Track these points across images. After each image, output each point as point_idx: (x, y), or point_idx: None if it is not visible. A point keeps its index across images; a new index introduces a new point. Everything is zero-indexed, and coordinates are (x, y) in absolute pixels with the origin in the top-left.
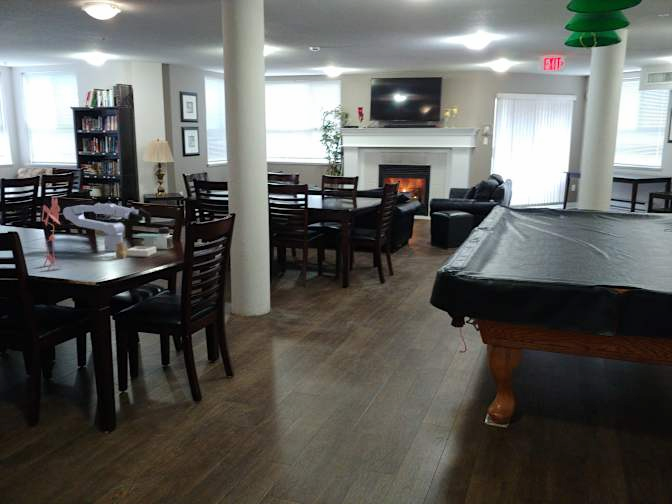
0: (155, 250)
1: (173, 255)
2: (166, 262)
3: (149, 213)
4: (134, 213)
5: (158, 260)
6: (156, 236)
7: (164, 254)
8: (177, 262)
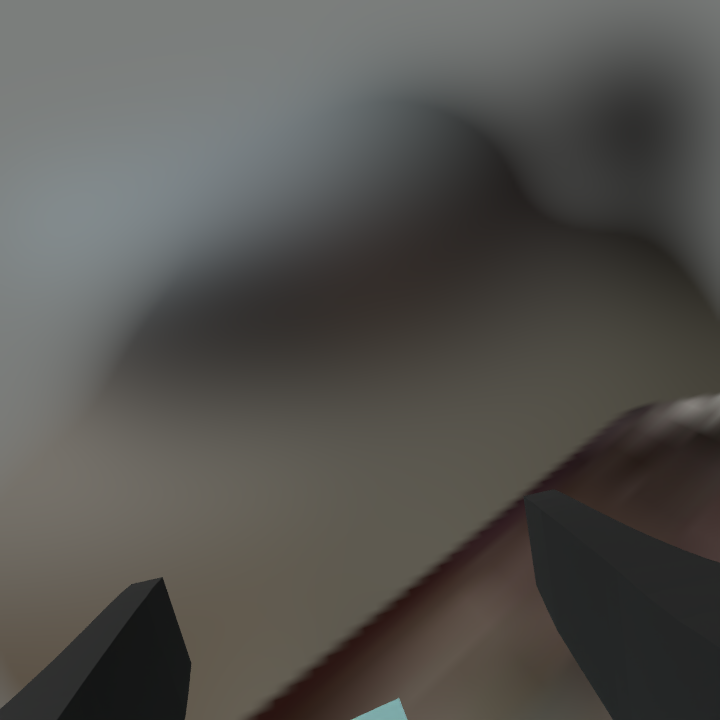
0: None
1: (463, 595)
2: (688, 456)
3: (123, 593)
4: (712, 609)
5: (704, 534)
6: (399, 701)
7: (477, 692)
8: (623, 424)
